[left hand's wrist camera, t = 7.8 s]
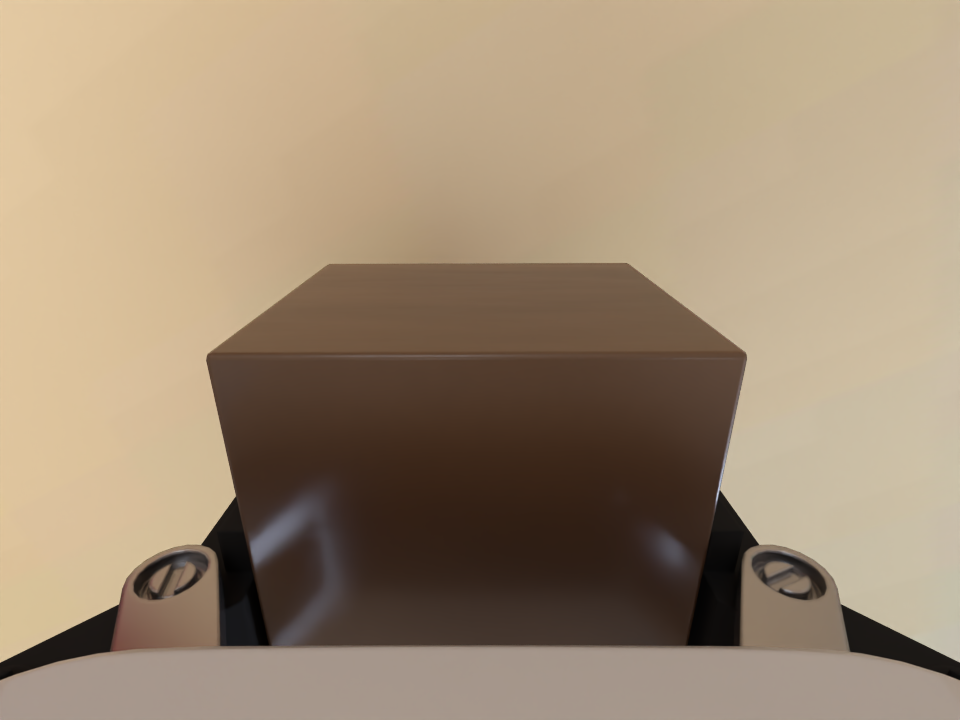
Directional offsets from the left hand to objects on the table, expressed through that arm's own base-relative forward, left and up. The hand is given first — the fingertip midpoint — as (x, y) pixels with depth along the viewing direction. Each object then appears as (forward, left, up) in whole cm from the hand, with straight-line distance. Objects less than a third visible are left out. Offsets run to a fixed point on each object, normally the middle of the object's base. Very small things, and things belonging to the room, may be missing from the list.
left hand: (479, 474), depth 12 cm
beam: (+25, 0, -2) cm, 25 cm away
